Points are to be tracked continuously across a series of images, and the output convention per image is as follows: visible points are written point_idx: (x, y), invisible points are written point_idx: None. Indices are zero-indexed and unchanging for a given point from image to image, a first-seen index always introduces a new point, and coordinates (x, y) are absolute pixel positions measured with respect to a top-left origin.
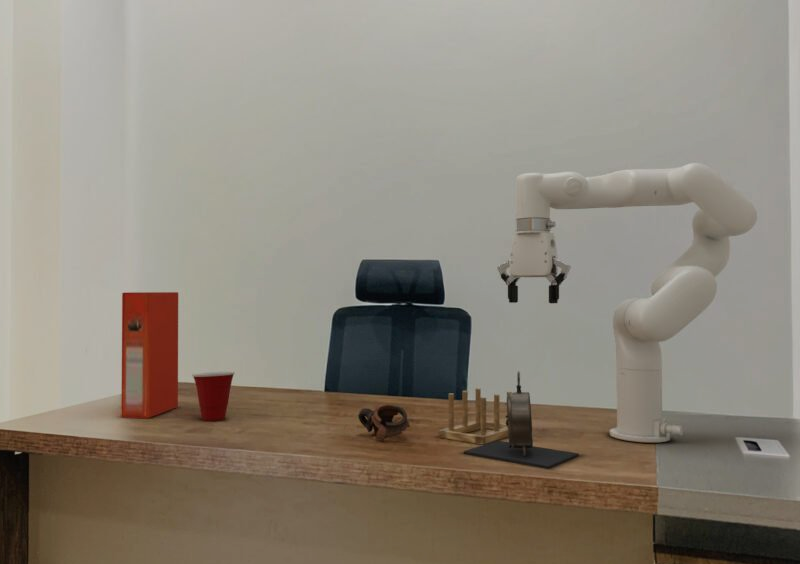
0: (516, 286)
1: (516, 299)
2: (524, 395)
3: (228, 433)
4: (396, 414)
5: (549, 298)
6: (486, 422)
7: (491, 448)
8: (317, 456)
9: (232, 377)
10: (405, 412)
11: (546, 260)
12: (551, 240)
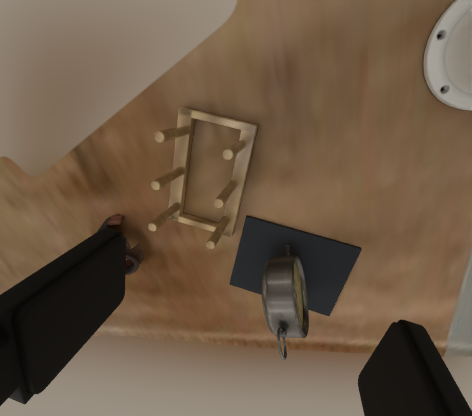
0: (27, 333)
1: (115, 262)
2: (294, 334)
3: (11, 279)
4: None
5: (368, 412)
6: (196, 118)
7: (252, 262)
8: (126, 329)
9: None
10: (126, 255)
11: None
12: None
